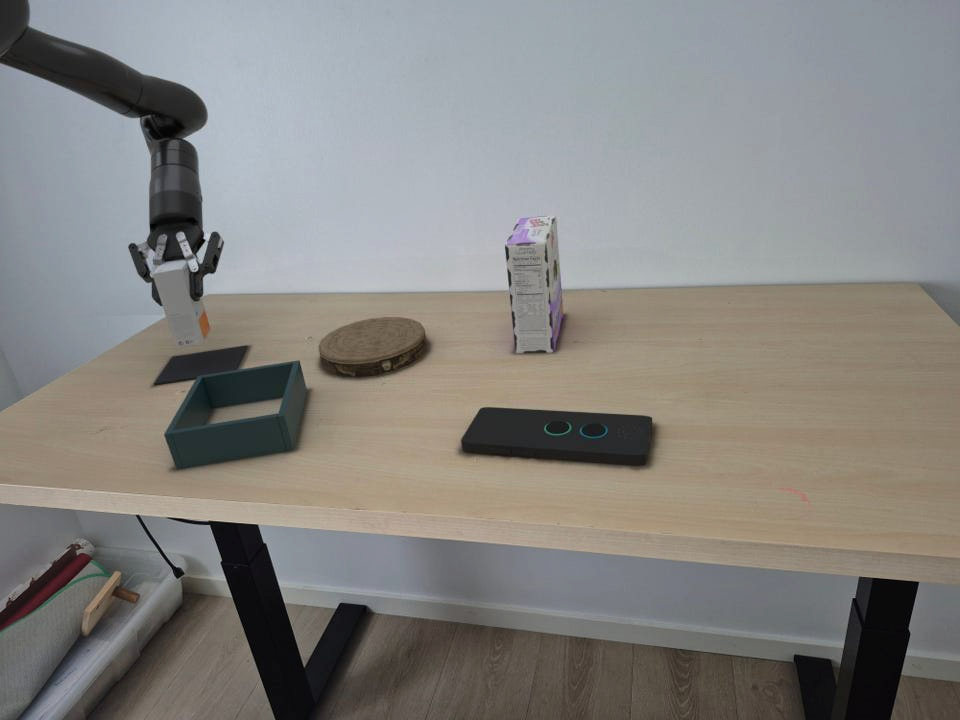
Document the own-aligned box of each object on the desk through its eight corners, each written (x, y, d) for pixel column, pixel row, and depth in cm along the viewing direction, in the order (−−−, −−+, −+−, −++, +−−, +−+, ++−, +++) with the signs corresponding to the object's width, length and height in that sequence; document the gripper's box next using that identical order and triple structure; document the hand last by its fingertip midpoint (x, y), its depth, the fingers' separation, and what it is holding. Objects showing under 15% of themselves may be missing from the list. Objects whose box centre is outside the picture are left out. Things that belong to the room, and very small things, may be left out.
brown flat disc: (310, 353, 108) (306, 336, 107) (404, 326, 114) (401, 309, 113) (340, 390, 95) (335, 371, 94) (444, 357, 101) (441, 338, 100)
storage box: (176, 471, 81) (163, 434, 79) (208, 408, 95) (197, 375, 93) (294, 452, 82) (284, 415, 80) (307, 392, 96) (299, 360, 94)
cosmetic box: (205, 345, 104) (181, 268, 99) (176, 350, 104) (150, 273, 99) (212, 330, 110) (190, 257, 105) (185, 334, 109) (161, 261, 104)
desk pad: (154, 387, 104) (153, 383, 104) (173, 359, 113) (172, 356, 113) (236, 374, 104) (234, 370, 104) (248, 348, 114) (247, 345, 113)
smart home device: (645, 455, 70) (458, 441, 76) (645, 469, 71) (460, 455, 77) (653, 413, 77) (481, 404, 83) (653, 427, 78) (483, 417, 84)
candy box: (527, 318, 111) (518, 216, 104) (564, 317, 110) (557, 213, 103) (514, 355, 99) (502, 242, 92) (555, 354, 98) (546, 240, 91)
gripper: (117, 195, 104) (116, 297, 98) (213, 181, 105) (218, 282, 99) (140, 221, 111) (140, 319, 105) (230, 209, 112) (235, 305, 106)
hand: (178, 301), depth 102 cm, fingers closed on cosmetic box, 4 cm apart
